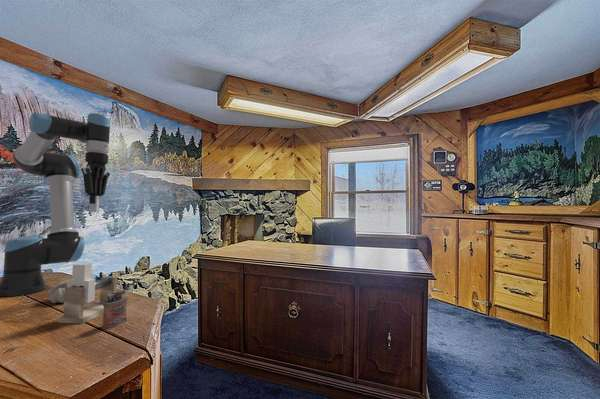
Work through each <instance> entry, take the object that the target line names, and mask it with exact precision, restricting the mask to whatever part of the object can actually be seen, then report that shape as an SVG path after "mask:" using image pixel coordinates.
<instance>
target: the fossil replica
mask: <svg viewBox="0 0 600 399" xmlns="http://www.w3.org/2000/svg"><path fill="white" fill-rule="evenodd" d="M71 279H72V277H71V278H69V279H65V280H62V281H61V282H59V283H57V284H55V285H53V286H52V287H51V288H50V290H47V292H46V295H45V297H46V298H48V300H49V301H50V302H51V303H52V304H57V303H58V304H59V303H61V304H64V297H65V288H67V280H71Z"/></svg>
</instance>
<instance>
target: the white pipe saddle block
mask: <svg viewBox="0 0 600 399" xmlns="http://www.w3.org/2000/svg"><path fill="white" fill-rule="evenodd" d="M92 269H93V263H92V262H91V263H88V262H86V263H85V262H80V263H75V264H72V272H71V273H72V274H71V278H72V279H71V278H70V279H71V280H68V279H66V280H67V288H68V287H79V286H84V304H90V303H91V302H92V303H93V302H94V301H95V298H96V295H95V294H96V290H95V281H97V280H96V278H92Z"/></svg>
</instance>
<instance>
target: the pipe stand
mask: <svg viewBox="0 0 600 399" xmlns="http://www.w3.org/2000/svg"><path fill="white" fill-rule="evenodd" d="M98 290H100V292H99V295H100V296H99V297H100V298H99V300H97V301H95V302H92V303H89V304H88V305H85V306H84V304H85V303H84V286H79V287H68V288H65V297H64V303H63V315H61V316H58V317H57V323H61V324H64V323H65V324H84V323H87V322H89V321H91V320H92V319H95V318H97V317H98V316H99V317H100V316H101V315H103V312H104V306H103V303H104V302H106V301H108V299H107V297H108V295H109V294H111V293H112V292H118V291H117V290H118V276H106V275H104V276H102V277H101V276H100V279H98V280H95V291H98Z"/></svg>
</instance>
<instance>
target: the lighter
mask: <svg viewBox="0 0 600 399" xmlns="http://www.w3.org/2000/svg"><path fill="white" fill-rule="evenodd" d="M125 294H126V290H125V289H121V290H118V291H117V292H112V293H111V294H109V295H108V297H107V299H108V301H106V302H104V303H103V306H104V312H103V314H102V315H103V316H102V324H101V329H102V330H110V329H113V328H116V327H118V326H121V325H122V324H124V323H126V322H127V321H128V320H127V318H128V317H127V307H128V296H123V295H125Z"/></svg>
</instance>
